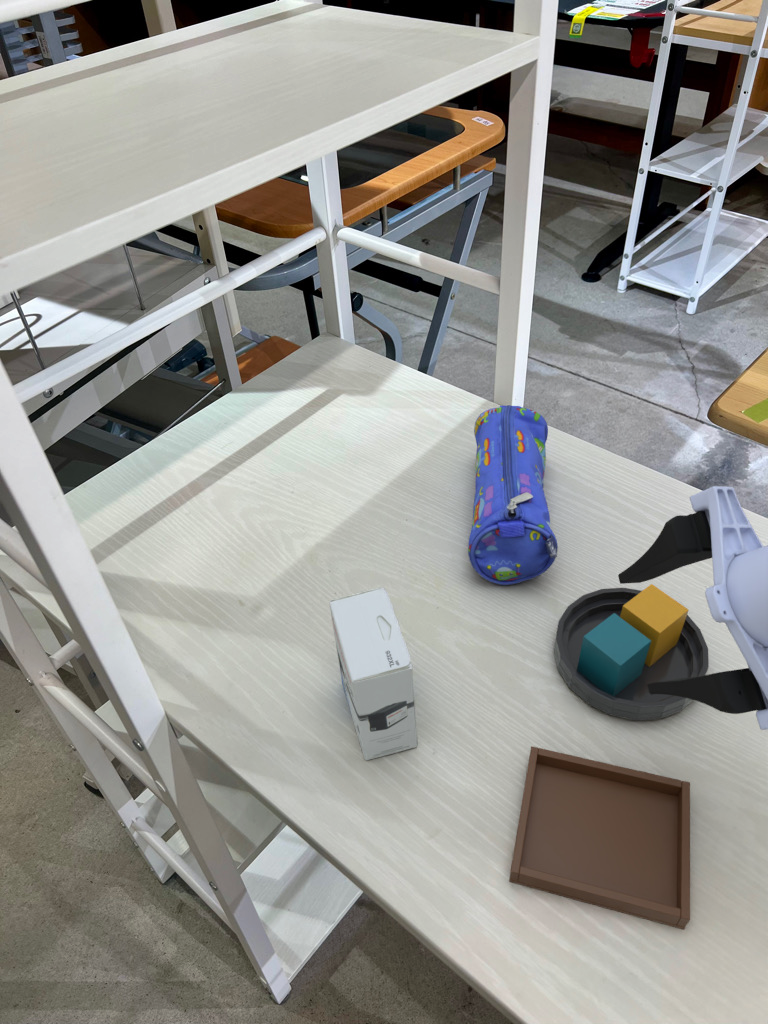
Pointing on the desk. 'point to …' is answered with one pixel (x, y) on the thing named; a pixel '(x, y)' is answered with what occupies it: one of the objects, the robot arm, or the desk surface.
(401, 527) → the desk surface
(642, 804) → the tray
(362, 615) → the ink box
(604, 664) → the teal block
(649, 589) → the mustard block
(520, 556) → the pencil case
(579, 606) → the pan
